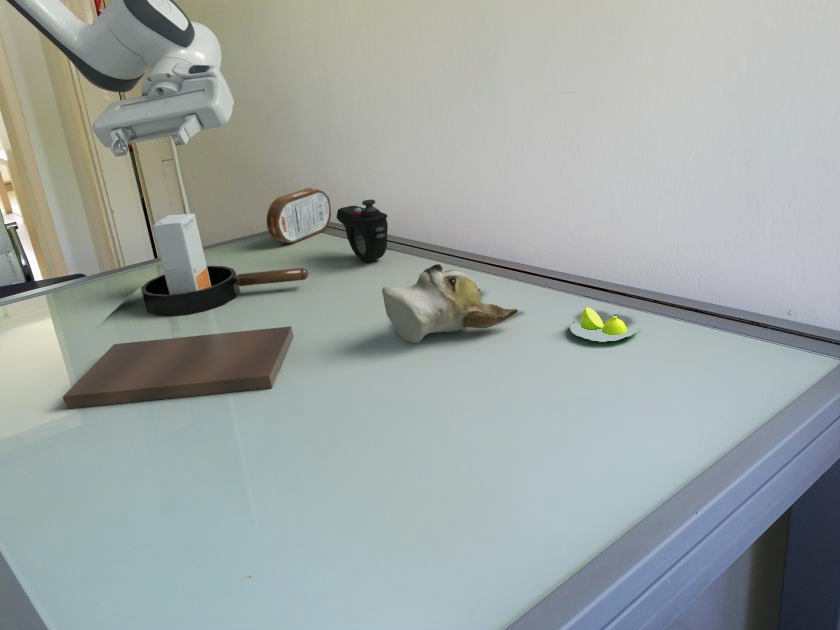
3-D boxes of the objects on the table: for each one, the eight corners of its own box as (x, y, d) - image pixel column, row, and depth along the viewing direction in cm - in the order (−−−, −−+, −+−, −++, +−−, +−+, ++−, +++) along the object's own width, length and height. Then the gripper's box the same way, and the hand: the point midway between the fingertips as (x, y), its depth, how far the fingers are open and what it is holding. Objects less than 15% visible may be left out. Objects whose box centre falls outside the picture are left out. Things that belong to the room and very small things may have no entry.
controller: (373, 269, 113) (364, 206, 109) (339, 254, 122) (329, 195, 118) (397, 263, 115) (389, 200, 111) (362, 248, 125) (353, 190, 120)
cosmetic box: (201, 304, 105) (180, 222, 100) (172, 306, 105) (150, 225, 100) (213, 289, 110) (195, 212, 105) (186, 292, 110) (166, 214, 106)
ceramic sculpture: (364, 263, 86) (476, 244, 92) (370, 331, 89) (477, 309, 95) (399, 287, 77) (520, 264, 83) (404, 362, 80) (520, 335, 86)
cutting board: (66, 409, 77) (62, 396, 77) (117, 354, 90) (113, 343, 90) (272, 388, 77) (269, 375, 77) (293, 337, 90) (291, 326, 90)
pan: (133, 320, 101) (126, 299, 100) (163, 288, 114) (158, 270, 112) (304, 302, 102) (300, 281, 100) (316, 273, 114) (313, 254, 112)
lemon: (563, 344, 81) (562, 321, 80) (574, 317, 88) (574, 295, 87) (637, 348, 78) (637, 323, 77) (642, 319, 85) (643, 297, 84)
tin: (324, 226, 142) (317, 183, 138) (337, 227, 140) (330, 183, 137) (270, 248, 130) (260, 201, 127) (282, 249, 129) (273, 202, 125)
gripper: (101, 88, 110) (68, 139, 101) (226, 62, 107) (203, 114, 98) (124, 124, 115) (94, 176, 106) (244, 101, 112) (223, 153, 103)
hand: (147, 146), depth 102 cm, fingers open, 8 cm apart
